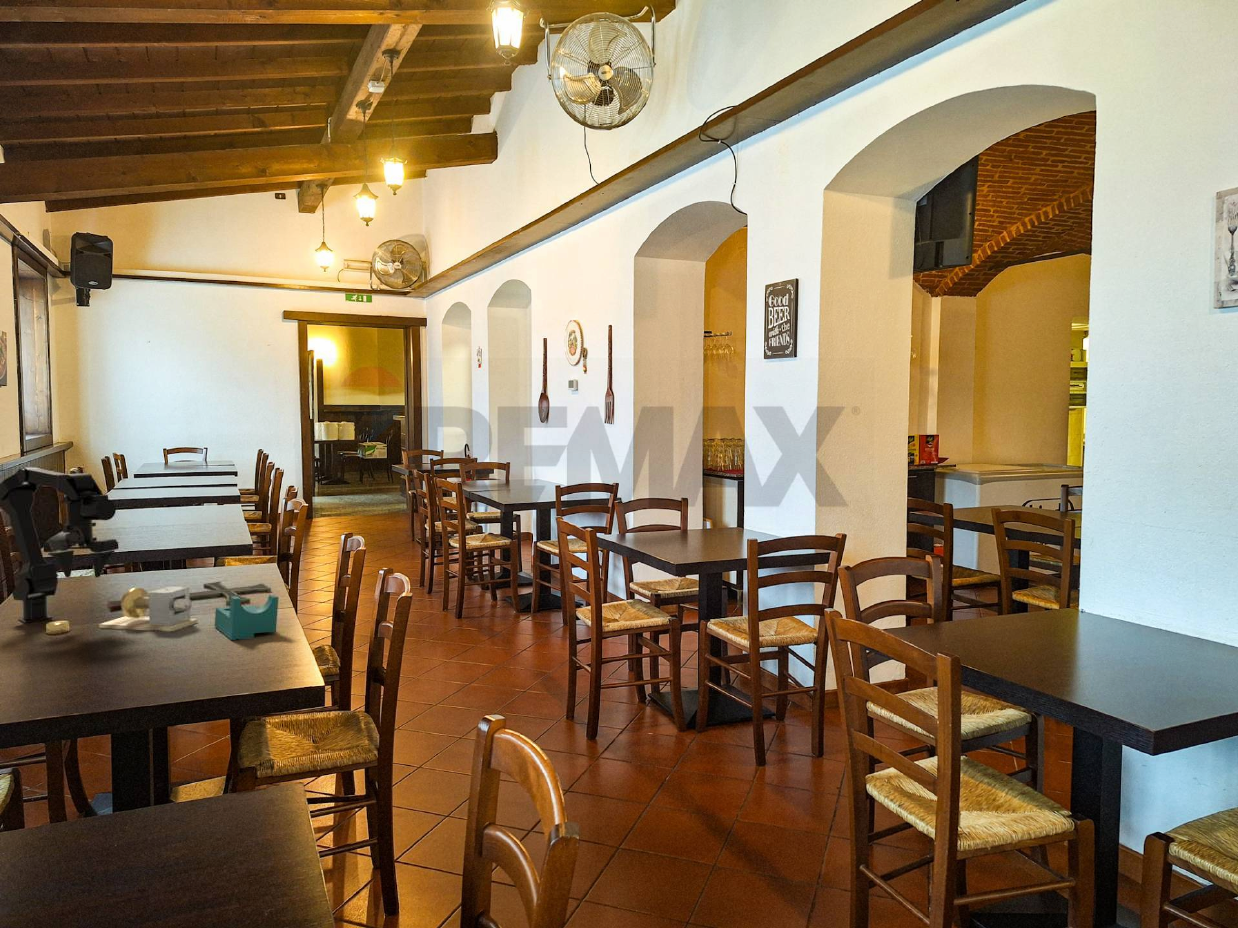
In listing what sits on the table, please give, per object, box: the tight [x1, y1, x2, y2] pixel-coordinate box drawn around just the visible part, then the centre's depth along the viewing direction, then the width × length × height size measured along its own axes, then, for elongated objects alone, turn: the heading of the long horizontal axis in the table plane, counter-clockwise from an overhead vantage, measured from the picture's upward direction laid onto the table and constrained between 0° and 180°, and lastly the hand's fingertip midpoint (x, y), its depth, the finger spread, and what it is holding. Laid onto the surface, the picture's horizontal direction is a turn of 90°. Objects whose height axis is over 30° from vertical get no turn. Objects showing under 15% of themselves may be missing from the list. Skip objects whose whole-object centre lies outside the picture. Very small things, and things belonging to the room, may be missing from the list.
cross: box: [106, 580, 272, 612], centre depth 262 cm, size 35×2×45 cm
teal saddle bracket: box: [214, 594, 279, 641], centre depth 223 cm, size 18×11×10 cm, turn 38°
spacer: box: [45, 620, 70, 635], centre depth 222 cm, size 5×5×2 cm
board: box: [98, 615, 198, 632], centre depth 229 cm, size 22×10×1 cm, turn 80°
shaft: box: [121, 587, 193, 618], centre depth 228 cm, size 17×8×8 cm, turn 80°
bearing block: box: [148, 586, 191, 627], centre depth 227 cm, size 6×8×9 cm
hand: (82, 577), depth 228 cm, fingers open, 9 cm apart
